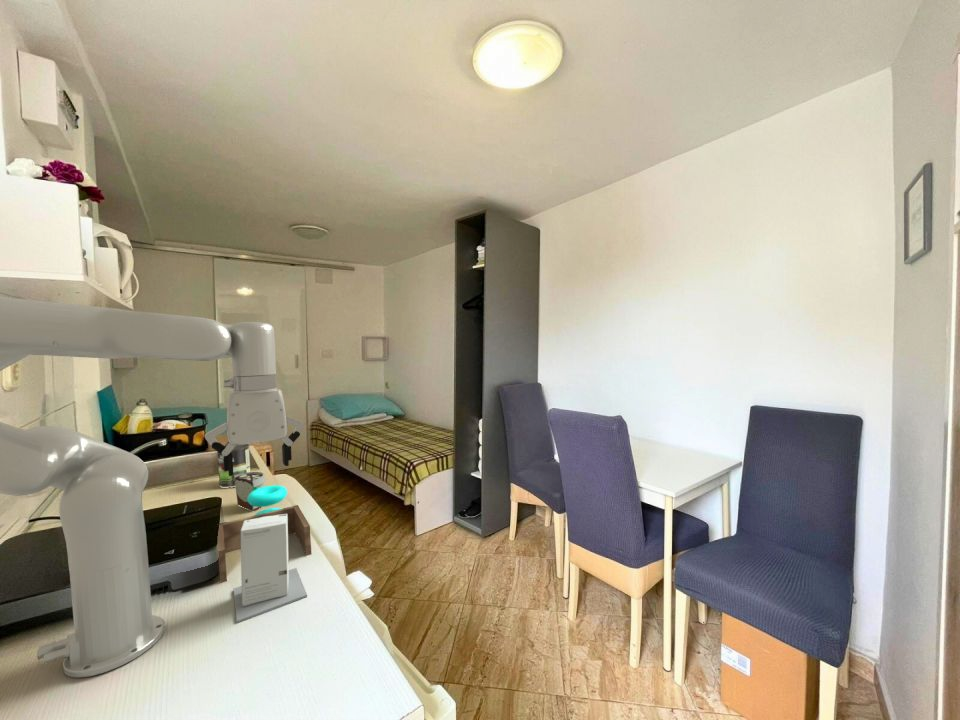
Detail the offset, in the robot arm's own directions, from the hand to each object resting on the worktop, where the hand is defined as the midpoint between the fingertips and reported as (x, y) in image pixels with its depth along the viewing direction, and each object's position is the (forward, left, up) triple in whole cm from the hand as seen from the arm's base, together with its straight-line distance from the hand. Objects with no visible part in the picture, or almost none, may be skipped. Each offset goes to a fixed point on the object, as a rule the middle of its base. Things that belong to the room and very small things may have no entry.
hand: (259, 469), depth 78 cm
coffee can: (-2, +84, -26) cm, 88 cm away
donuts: (+4, +36, -26) cm, 45 cm away
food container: (+2, +55, -26) cm, 61 cm away
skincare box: (0, 0, -26) cm, 26 cm away
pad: (0, 0, -26) cm, 26 cm away
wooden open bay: (+1, +19, -26) cm, 32 cm away
